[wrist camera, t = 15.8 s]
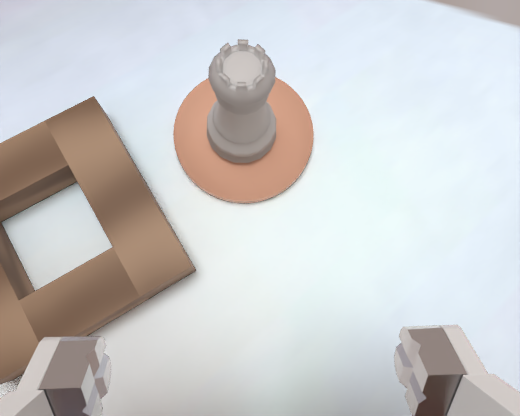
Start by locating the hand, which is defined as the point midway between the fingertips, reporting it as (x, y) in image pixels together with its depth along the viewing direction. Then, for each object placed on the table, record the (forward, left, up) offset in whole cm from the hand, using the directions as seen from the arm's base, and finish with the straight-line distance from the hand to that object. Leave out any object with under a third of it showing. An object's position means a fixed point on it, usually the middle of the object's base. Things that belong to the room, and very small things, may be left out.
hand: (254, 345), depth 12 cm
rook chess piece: (-11, +6, -14) cm, 18 cm away
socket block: (-10, -7, -14) cm, 19 cm away
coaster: (-10, +6, -14) cm, 19 cm away
